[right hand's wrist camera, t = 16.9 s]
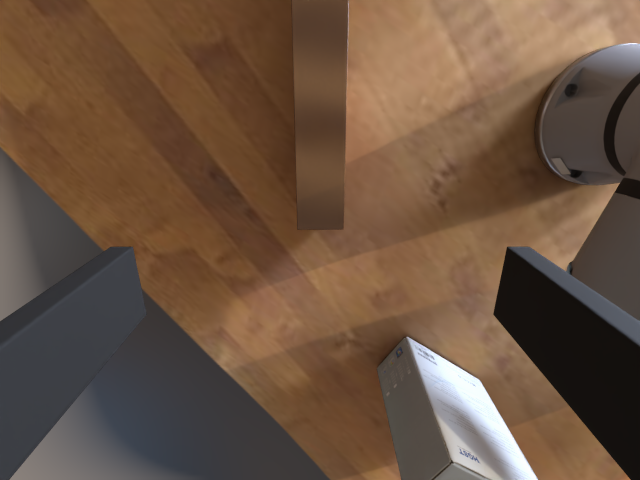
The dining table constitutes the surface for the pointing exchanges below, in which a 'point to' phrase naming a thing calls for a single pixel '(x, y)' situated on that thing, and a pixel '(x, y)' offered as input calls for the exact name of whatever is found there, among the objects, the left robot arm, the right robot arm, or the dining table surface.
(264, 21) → the dining table surface
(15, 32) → the dining table surface
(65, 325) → the right robot arm
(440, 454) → the hard drive box
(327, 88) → the bar
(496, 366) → the dining table surface
